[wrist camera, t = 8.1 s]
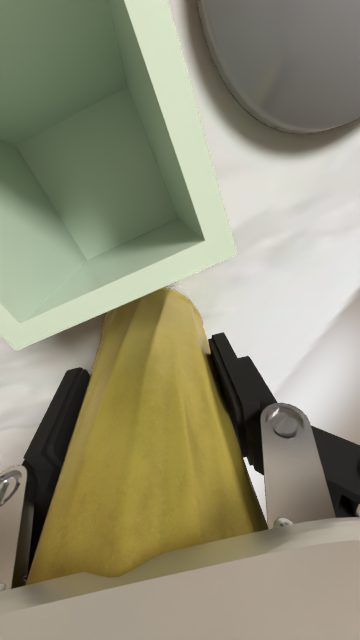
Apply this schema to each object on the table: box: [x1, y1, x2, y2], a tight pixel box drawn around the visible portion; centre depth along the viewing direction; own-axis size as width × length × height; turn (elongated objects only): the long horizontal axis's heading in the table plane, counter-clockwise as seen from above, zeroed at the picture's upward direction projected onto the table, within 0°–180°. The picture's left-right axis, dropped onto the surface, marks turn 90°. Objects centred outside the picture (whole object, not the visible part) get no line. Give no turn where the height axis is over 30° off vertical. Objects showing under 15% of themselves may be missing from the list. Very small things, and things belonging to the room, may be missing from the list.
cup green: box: [0, 0, 238, 351], centre depth 7 cm, size 6×6×7 cm
